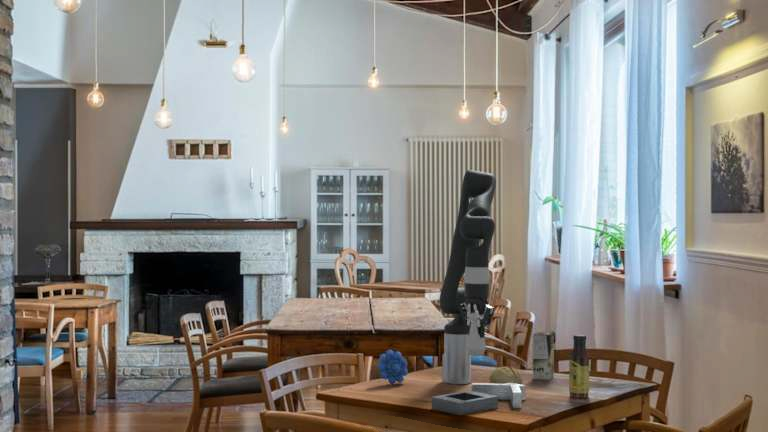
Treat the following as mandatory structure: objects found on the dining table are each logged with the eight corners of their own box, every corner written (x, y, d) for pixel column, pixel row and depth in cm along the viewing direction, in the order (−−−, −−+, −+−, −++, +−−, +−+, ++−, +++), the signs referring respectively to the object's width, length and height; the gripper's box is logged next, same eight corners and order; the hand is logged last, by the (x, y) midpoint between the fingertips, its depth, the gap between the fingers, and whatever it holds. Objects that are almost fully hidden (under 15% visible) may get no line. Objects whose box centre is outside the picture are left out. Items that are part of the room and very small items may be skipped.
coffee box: (550, 380, 296) (550, 335, 297) (532, 379, 298) (532, 334, 299) (554, 376, 305) (554, 332, 305) (536, 375, 307) (536, 331, 307)
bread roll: (509, 386, 285) (509, 362, 286) (529, 394, 271) (529, 369, 271) (483, 387, 283) (483, 364, 283) (502, 396, 268) (502, 371, 268)
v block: (517, 408, 248) (517, 393, 249) (468, 397, 264) (468, 383, 264) (543, 403, 256) (543, 388, 256) (494, 393, 272) (494, 379, 272)
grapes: (382, 387, 282) (382, 352, 282) (374, 384, 288) (374, 349, 288) (413, 384, 287) (413, 350, 287) (404, 381, 293) (404, 347, 293)
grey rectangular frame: (431, 408, 248) (431, 396, 248) (469, 401, 258) (469, 390, 258) (460, 415, 239) (460, 403, 239) (497, 407, 249) (497, 396, 249)
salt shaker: (484, 357, 250) (485, 313, 250) (465, 356, 251) (466, 313, 251) (486, 353, 255) (487, 311, 256) (468, 353, 257) (468, 310, 257)
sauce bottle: (566, 394, 270) (566, 333, 270) (585, 394, 270) (585, 333, 270) (572, 399, 263) (572, 336, 263) (592, 398, 264) (591, 335, 264)
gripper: (502, 282, 250) (501, 340, 250) (469, 279, 261) (469, 334, 261) (484, 283, 246) (484, 342, 246) (452, 280, 257) (451, 336, 257)
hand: (476, 338), depth 253 cm, fingers closed on salt shaker, 3 cm apart
